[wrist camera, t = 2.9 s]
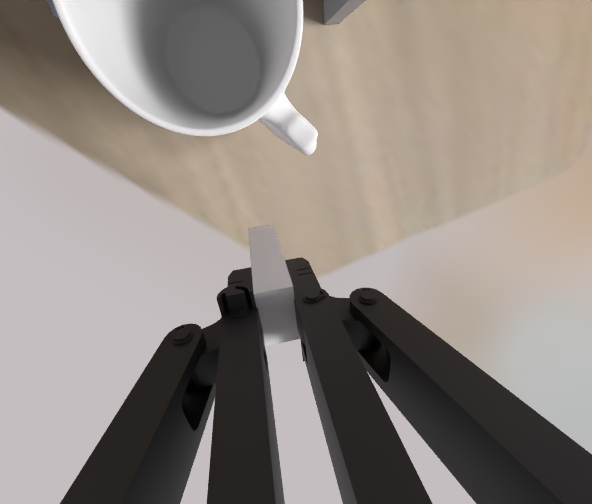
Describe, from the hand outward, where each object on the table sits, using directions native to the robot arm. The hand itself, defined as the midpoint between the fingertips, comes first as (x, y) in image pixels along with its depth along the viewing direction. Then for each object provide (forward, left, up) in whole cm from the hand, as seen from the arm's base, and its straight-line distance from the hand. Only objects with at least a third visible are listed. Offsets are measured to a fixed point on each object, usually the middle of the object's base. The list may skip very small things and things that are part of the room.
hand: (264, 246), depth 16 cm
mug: (-9, 0, -8) cm, 12 cm away
